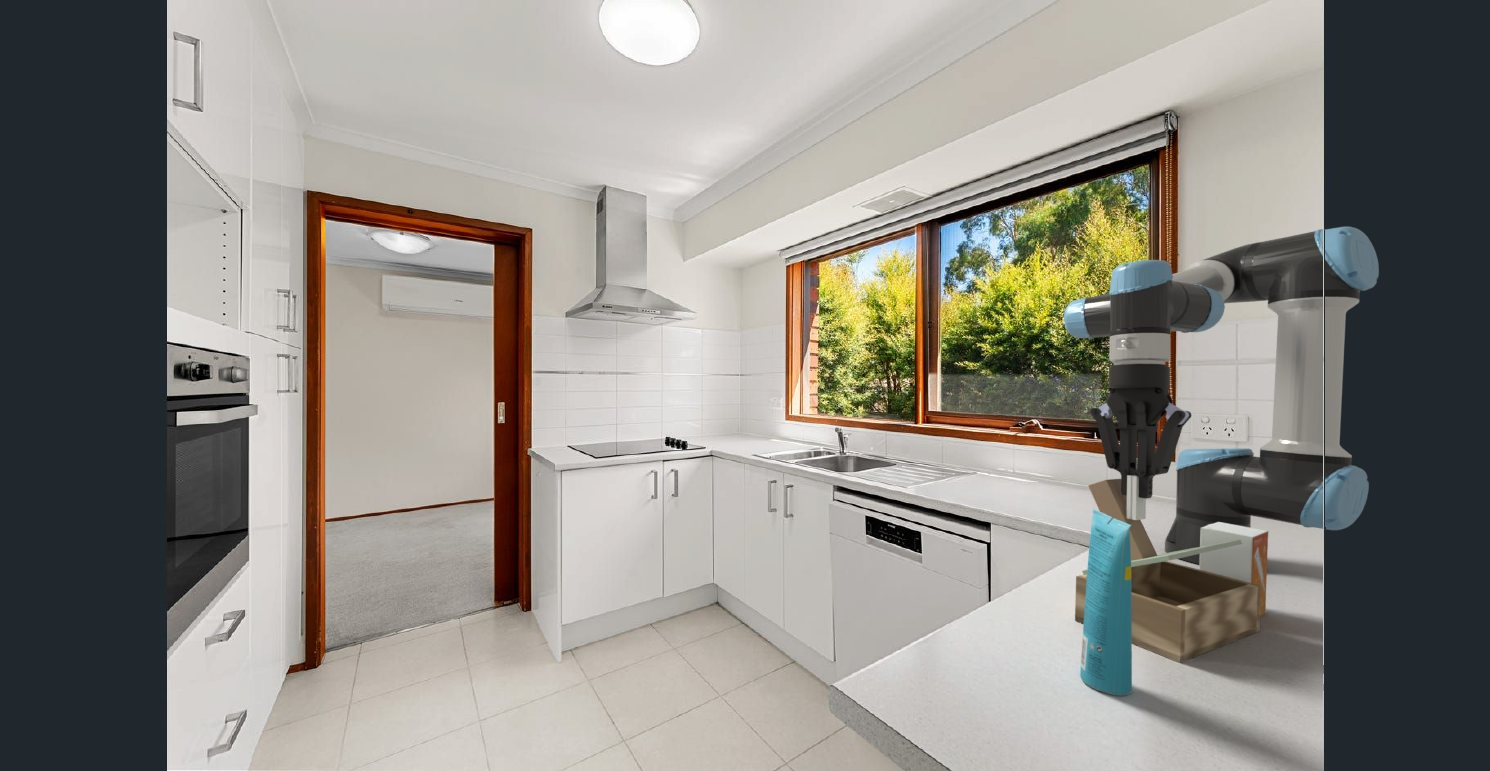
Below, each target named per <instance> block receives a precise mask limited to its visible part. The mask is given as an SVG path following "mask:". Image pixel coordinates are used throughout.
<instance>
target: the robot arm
mask: <svg viewBox="0 0 1490 771" xmlns="http://www.w3.org/2000/svg"><path fill="white" fill-rule="evenodd" d="M1323 230H1325V527H1326V529H1325V530H1328V531H1329V530H1330V531H1341V530H1343V529H1346V528H1349V527H1350V526H1351V525H1353V524H1354V523H1355V522H1356V520H1357V519H1358V518H1359V517H1360V516H1361V515H1362V512H1363V510H1364V508H1365V505H1366V502H1367V500H1368V494H1369V488H1370V487H1369V486H1370V485H1369V484H1370V483H1369V481H1368V475H1367V472H1366V471H1365V470H1364V469H1363V468H1361V467H1358V466H1356V465H1352V459H1353V458H1352V457H1353V456H1352V454H1351V453H1349V452H1348V451H1346V450H1345V449H1344V448H1343V447H1342V446H1341V444H1340V441H1341V440H1340V438H1341V422H1342V420H1341V418H1342V400H1343V399H1342V396H1343V381H1344V380H1343V379H1344V378H1343V377H1344V359H1345V358H1344V357H1345V356H1344V355H1345V336H1346V316H1347V315H1346V314H1347V313H1348V311H1349V310H1351V309H1352V308H1354V307H1355V306H1356V305H1358V304H1359V303H1360V293H1361V291H1363V292H1364V291H1367V290H1370V289H1372V288H1374V287H1375V285H1377V283H1378V282H1377V280H1378V279H1379V275H1380V270H1379V269H1380V268H1379V267H1380V266H1379V261H1378V256H1377V252H1376V250H1375V247H1374V246H1373V244H1372V242H1371V240H1370V238H1369V237H1368V235H1366V234H1365V233H1364V232H1363V231H1362V230H1360V229H1358V228H1356V227H1352V226H1340V227H1339V226H1338V227H1333V228H1327V229H1322V228H1321V229H1317V230H1314V231H1308V232H1305V233H1304V232H1303V233H1300V234H1295V235H1290V236H1285V237H1281V238H1274V239H1269V240H1264V241H1259V242H1258V241H1257V242H1253V243H1247V244H1244V245H1241V246H1238V247H1234V248H1233V249H1228V250H1227V251H1224V252H1221V253H1219V254H1215V255H1212V256H1210V257H1207V258H1204V259H1201V260H1197V261H1195V262H1193V263H1190V264H1189V265H1188V266H1187V267H1186V268H1185V269H1183V270H1182V271H1179V272H1176V273H1173V270H1172V266H1171V264H1170V262H1168V261H1165V260H1161V259H1147V260H1145V259H1144V260H1137V261H1136V260H1135V261H1131V262H1127V263H1123V264H1121V265H1118V266H1117V267H1115V268H1114V269H1113V270H1112V272H1111V278H1110V279H1111V281H1110V286H1109V287H1110V289H1109V291H1108V293H1105V294H1101V295H1097V296H1096V295H1095V296H1090V297H1089V296H1086V297H1083V298H1078V299H1075V300H1073V301H1071V302H1069V303H1068V305H1067V307H1066V308H1065V309H1064V314H1063V321H1064V327H1065V329H1066V331H1067V333H1068V334H1070V336H1072V337H1074V338H1076V339H1095V338H1104V337H1105V338H1106V337H1109V355H1108V356H1109V362H1111V363H1113V365H1110V367H1108V389H1109V394H1108V395H1107V398H1105V400H1106V401H1105V403H1103V404H1102V405H1100V406H1099V407H1092V408H1091V409H1090V414H1091V415H1092V417H1093V419H1094V420H1095V422H1096V423H1097V428H1098V432H1099V437H1100V440H1101V445H1102V449H1103V452H1104V456H1105V457H1104V458H1105V462H1106V466H1107V467H1108V468H1109V469H1112V470H1115V471H1117V472H1118V473H1120V479H1121V493H1122V495H1127V519H1132V520H1141V521H1142V520H1146V517H1147V516H1146V511H1147V510H1146V508H1147V506H1146V505H1147V499H1152V497H1153V486H1154V485H1153V484H1154V483H1153V480H1154V477H1155V476H1157V475H1158V476H1159V475H1164V474H1168V472H1169V471H1170V467H1171V464H1172V460H1173V459H1174V455H1175V452H1176V449H1177V446H1178V443H1179V439H1180V435H1181V433H1182V430H1183V427H1184V426H1185V425H1186V423H1188V421H1189V420H1190V419H1191V418H1192V413H1191V411H1188V410H1183V409H1181V408H1180V407H1178V406H1176V405H1174V401H1173V398H1172V397H1171V395H1170V388H1171V387H1170V386H1171V367H1170V366H1169V365H1167V364H1166V362H1167V363H1168V362H1169V361H1171V332H1180V333H1183V334H1187V333H1200V332H1205V331H1208V330H1209V329H1212V328H1214V327H1215V326H1216V325H1217V324H1218V323H1219V322H1220V321H1221V319H1222V317H1223V315H1224V313H1225V308H1226V306H1225V304H1231V303H1232V304H1235V303H1236V304H1237V303H1249V302H1252V303H1253V302H1264V301H1265V302H1266V301H1267V308H1268V309H1270V310H1271V311H1272V312H1274V313H1275V314H1276V315H1277V329H1276V330H1277V332H1276V352H1275V353H1276V354H1275V368H1274V369H1275V373H1274V390H1273V392H1274V393H1273V410H1272V412H1273V413H1272V432H1271V439H1270V441H1269V442H1267V443H1265V444H1264V445H1262V446H1260V448H1259V456H1254V454H1255V453H1254V452H1253V449H1251V448H1241V447H1240V448H1239V447H1238V448H1236V447H1235V448H1234V447H1233V448H1187V449H1183V450H1182V451H1180V452H1179V454H1178V457H1177V464H1176V468H1175V471H1176V496H1175V497H1176V502H1175V504H1176V508H1175V509H1176V510H1175V518H1174V520H1173V523H1172V524H1171V527H1170V529H1169V532H1168V533H1167V536H1166V538H1165V541H1164V553H1170V552H1175V551H1181V550H1186V549H1192V548H1197V547H1200V532H1201V527H1205V526H1207V525H1209V524H1214V523H1217V522H1222V523H1227V524H1233V525H1238V526H1244V527H1249V528H1252V527H1251V526H1252V524H1251V521H1252V519H1251V518H1252V517H1257V518H1262V519H1266V520H1273V521H1277V522H1283V523H1289V524H1293V525H1294V524H1295V525H1300V526H1303V527H1304V528H1308V529H1309V528H1316V529H1323ZM1113 415H1114V416H1115V417H1116V419H1117V420H1118V421H1117V422H1118V423H1117V424H1118V425H1117V428H1118V430H1119V438H1118V434H1117V431H1116V426H1115V422H1114V420H1113V418H1112V416H1113ZM1164 415H1165V419H1166V422H1165V423H1164V425H1163V429H1162V433H1161V435H1160V438H1159V440H1158V444H1157V447H1156V433H1157V431H1158V426H1159V425H1158V424H1159V423H1158V422H1159V421H1160V420H1162V418H1163V417H1164ZM1251 516H1252V517H1251ZM1323 530H1324V529H1323ZM1178 559H1179V560H1183V561H1186V562H1189V563H1193V564H1198V565H1199V564H1200V554H1196V555H1192V556H1187V557H1183V558H1178Z"/></svg>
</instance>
